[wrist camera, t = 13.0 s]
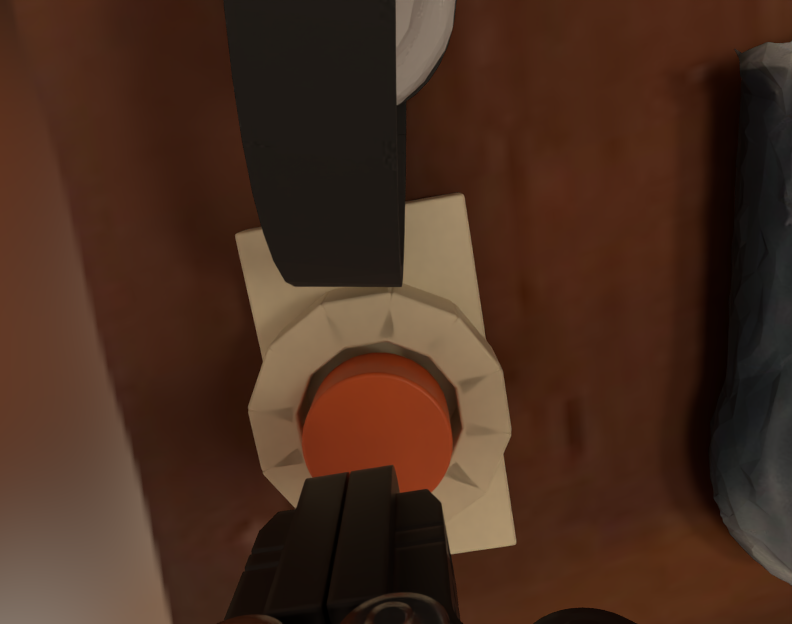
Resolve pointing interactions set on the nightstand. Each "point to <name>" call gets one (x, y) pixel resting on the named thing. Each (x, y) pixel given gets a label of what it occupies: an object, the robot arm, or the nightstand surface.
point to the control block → (397, 334)
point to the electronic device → (759, 322)
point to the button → (380, 422)
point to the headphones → (332, 127)
